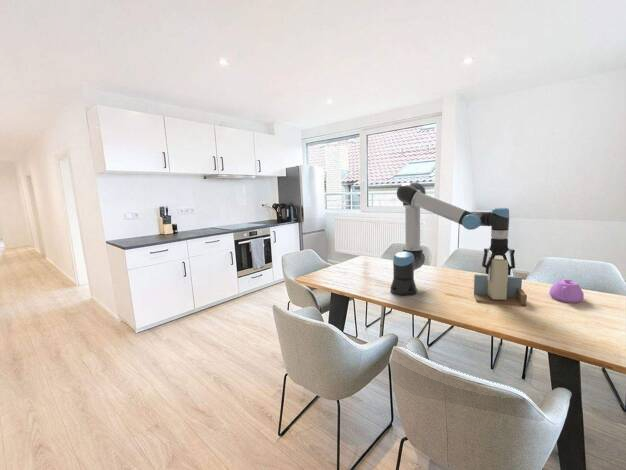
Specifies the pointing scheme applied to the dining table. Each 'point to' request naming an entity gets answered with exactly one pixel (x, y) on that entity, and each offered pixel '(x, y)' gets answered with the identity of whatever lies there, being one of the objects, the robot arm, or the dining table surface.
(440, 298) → the dining table surface
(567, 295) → the purple dimpled dome
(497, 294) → the toy refrigerator
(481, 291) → the cleat board
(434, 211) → the robot arm
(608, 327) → the dining table surface
